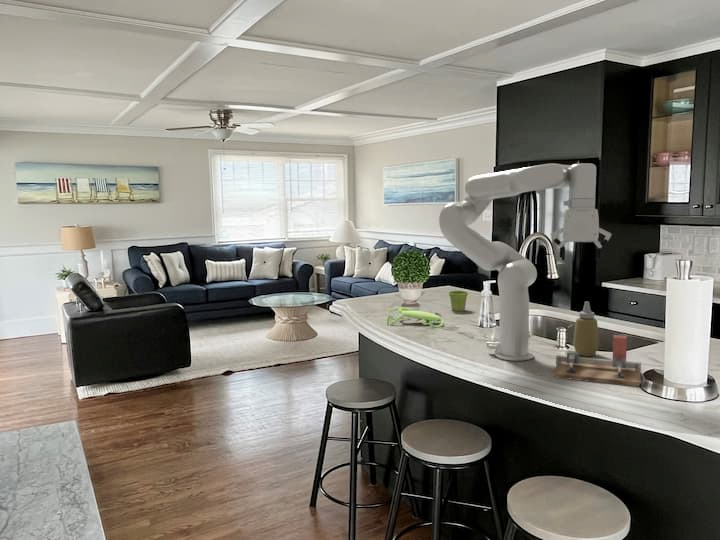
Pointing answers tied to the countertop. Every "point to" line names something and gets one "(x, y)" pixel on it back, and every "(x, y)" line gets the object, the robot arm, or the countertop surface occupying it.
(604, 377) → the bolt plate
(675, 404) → the countertop surface
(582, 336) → the squeeze bottle
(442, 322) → the figurine
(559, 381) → the countertop surface
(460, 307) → the plant pot
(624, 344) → the sliding leg
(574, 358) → the trammel rail
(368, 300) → the countertop surface
